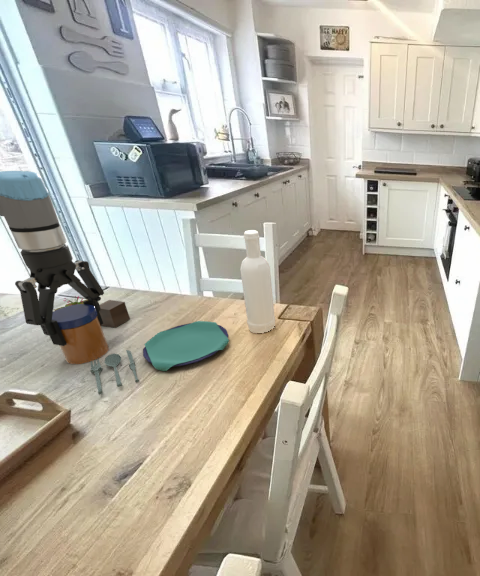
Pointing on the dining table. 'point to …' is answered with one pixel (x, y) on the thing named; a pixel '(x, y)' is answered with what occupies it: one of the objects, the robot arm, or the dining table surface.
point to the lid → (74, 315)
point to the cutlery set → (173, 348)
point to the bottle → (257, 286)
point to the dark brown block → (113, 313)
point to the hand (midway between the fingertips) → (79, 333)
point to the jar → (84, 343)
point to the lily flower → (72, 302)
